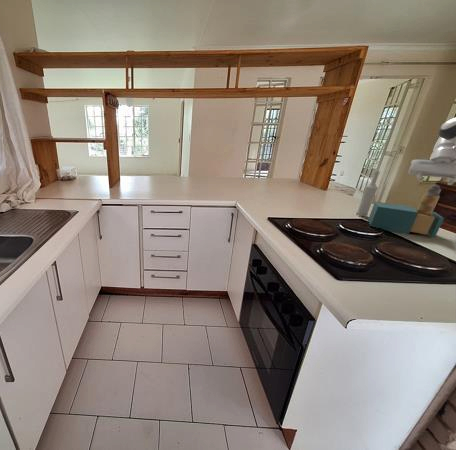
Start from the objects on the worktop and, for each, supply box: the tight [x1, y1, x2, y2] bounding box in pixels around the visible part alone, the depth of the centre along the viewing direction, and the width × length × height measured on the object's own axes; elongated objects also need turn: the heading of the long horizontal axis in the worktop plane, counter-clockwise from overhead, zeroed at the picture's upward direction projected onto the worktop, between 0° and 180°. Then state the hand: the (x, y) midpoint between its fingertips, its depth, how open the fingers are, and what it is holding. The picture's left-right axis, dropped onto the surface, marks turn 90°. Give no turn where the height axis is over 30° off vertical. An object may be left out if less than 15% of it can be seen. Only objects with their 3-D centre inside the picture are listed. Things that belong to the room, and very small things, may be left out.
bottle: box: [355, 170, 381, 217], centre depth 130 cm, size 5×5×25 cm
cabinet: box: [367, 201, 418, 235], centre depth 115 cm, size 14×14×11 cm
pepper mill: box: [416, 184, 442, 216], centre depth 107 cm, size 5×5×21 cm
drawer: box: [409, 209, 445, 238], centre depth 110 cm, size 14×12×9 cm
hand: (434, 182), depth 111 cm, fingers open, 8 cm apart
